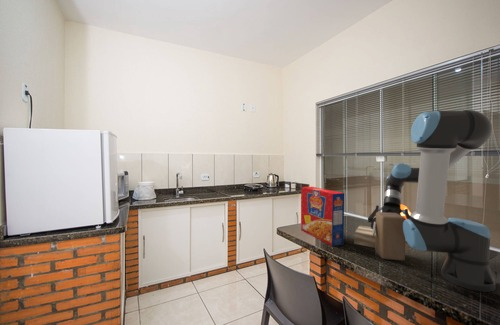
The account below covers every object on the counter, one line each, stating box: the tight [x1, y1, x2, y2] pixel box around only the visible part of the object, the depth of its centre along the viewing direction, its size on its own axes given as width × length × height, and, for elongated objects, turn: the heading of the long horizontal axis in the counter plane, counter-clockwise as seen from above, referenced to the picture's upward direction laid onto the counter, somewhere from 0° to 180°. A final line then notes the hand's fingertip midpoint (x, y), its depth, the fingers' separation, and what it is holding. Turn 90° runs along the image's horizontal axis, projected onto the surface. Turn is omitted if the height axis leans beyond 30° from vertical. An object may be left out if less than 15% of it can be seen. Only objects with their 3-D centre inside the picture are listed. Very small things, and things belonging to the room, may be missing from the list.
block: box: [374, 211, 406, 261], centre depth 109 cm, size 10×10×20 cm
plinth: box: [353, 225, 376, 249], centre depth 127 cm, size 16×14×6 cm
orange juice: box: [400, 203, 412, 220], centre depth 132 cm, size 8×9×20 cm
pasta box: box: [300, 186, 345, 247], centre depth 135 cm, size 28×8×28 cm, turn 22°
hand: (389, 237), depth 107 cm, fingers closed on block, 12 cm apart
